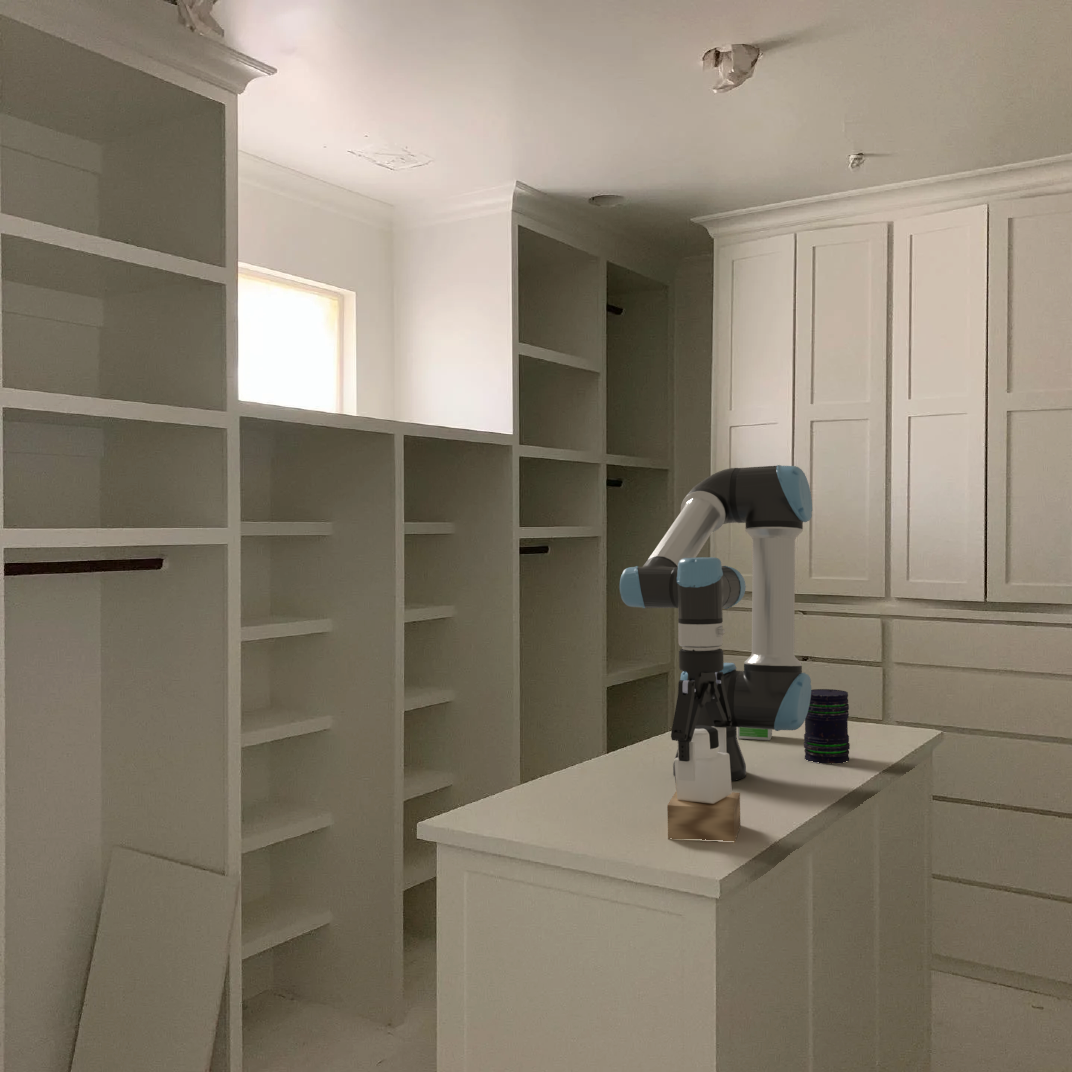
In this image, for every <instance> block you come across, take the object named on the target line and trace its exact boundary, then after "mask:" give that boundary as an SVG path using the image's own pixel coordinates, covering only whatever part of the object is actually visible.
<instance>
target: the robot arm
mask: <svg viewBox="0 0 1072 1072" xmlns="http://www.w3.org/2000/svg"><path fill="white" fill-rule="evenodd" d="M809 484H810V483H809V481H808V479H807V475H806V474H805V472H804V470H803V469H802V468H800V467H799V466H796V465H780V464H779V465H778V464H777V465H769V466H767V465H766V466H765V465H764V466H751V467H730V468H726V469H721V470H719V471H716V472H714V473H713V474H711V475H708V477H706V478H704V479H703V480H702V481H700V482H698V483H697V484H696V485H695V486H693V487H692V489H690V491H689V492H688V493H687V494H686V495H685V497H684V498H683V499H682V502H681V504H680V513H679V514H678V515H677V517H676V518H675V520H674V521H673V523H672V524H671V525H670V527H669V528H668V530H667V531H666V533H665V534H664V535H663V537H662V539H661V540H660V541H659V543H658V544H657V545H656V547H655V549H654V550H653V552H652V553H651V554H650V556H649V557H648V559H647V560H646V562H645V563H644V564H643V565H642V566H638V565H636V566H631V567H626V568H625V569H623V571H622V574H621V576H620V578H619V579H620V580H619V593H620V598H621V600H622V603H624V604H625V605H626V606H627V607H630V608H642V609H646V608H647V609H648V608H649V609H652V608H653V609H677V613H678V620H677V621H678V623H677V624H678V626H677V628H678V630H677V632H678V635H677V637H678V645H679V647H681V648H680V649H679V650H678V667H679V670H680V671H681V673H680V677H679V678H680V679H679V681H678V686H677V687H678V692H677V699H676V705H675V710H674V715H673V719H672V720H673V721H672V727H671V734H670V737H671V740H672V741H675V742H677V751H676V753H675V758H678V780H686V781H695V741H692V737H693V734H694V730H695V727H696V726H711V727H714V728H716V729H717V730H718V740H719V751H718V752H721V753H728V754H729V756H730V771H731V782H734V781H739V780H741V779H744V778H745V777H747V766H746V762H745V759H744V756H743V752H742V750H741V746H740V744H739V741H738V738H737V727H744V728H758V729H771V730H772V731H773V730H774V731H775V732H780V731H795V730H799V728H801V727H802V725H803V724H805V718H806V716H807V713H808V709H809V705H810V699H811V690H812V684H811V683H812V680H811V676H810V675H809V674H808V673H806V672H803V665H802V663H801V661H800V660H799V659H798V658H797V657H796V655H795V615H796V614H795V613H796V612H795V611H796V610H795V599H796V598H795V596H796V594H795V593H796V592H795V590H796V586H795V585H796V583H795V582H796V581H795V579H796V578H795V577H796V576H795V575H796V539H797V538H798V536H800V534H801V533H802V532H804V531H803V529H804V526H803V523H807V522H809V521H810V520H811V519H812V516H813V514H812V513H813V500H812V493H811V489H810V488H811V487H810V485H809ZM734 523H735V524H736V523H737V524H744V523H745V532H746V533H747V534H748V535H749V536H750V537H751V538H752V570H751V571H752V573H751V574H752V578H751V579H752V583H751V585H752V586H751V590H752V591H751V596H752V597H751V598H752V600H751V602H752V603H751V654H750V656H749V657H747V659H746V660H745V661H743V670H737V666H736V664H735V663H734V662H724V650H723V649H722V648H720V647H721V646H723V645H724V642H723V641H724V640H723V639H724V636H723V635H724V634H725V633H726V630H725V629H724V628H723V622H724V621H723V609H726V610H727V609H730V608H732V607H733V606H735V605H737V604H738V603H739V602H740V601H742V599H743V598H744V596H745V592H746V588H747V585H746V580H745V578H744V577H743V575H742V574H741V572H740V571H738V570H737V569H736V568H734V567H731V566H728V565H722V562H721V559H720V558H717V557H709V556H708V557H706V556H705V557H702V556H701V557H697V556H698V555H699V553H700V552H701V550H702V548H703V547H704V546H705V544H706V543H707V540H708V539H709V538H710V536H711V535H712V533H714V532H716V531H718V530H719V529H720V528H721V527H722V526H723V525H726V524H734ZM675 758H674V759H675ZM672 767H673V769H672V770H673V776H674V777H675V767H674V762H672Z"/></svg>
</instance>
